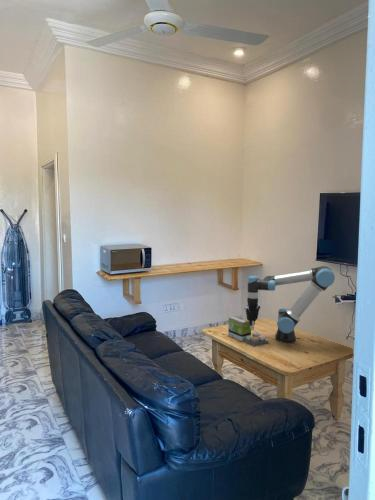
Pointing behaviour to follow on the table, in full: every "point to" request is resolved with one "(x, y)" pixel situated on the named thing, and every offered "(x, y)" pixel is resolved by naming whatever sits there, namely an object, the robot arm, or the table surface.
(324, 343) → the table surface
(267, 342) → the keypad board
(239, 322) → the tea box
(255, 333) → the slate key
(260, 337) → the ivory key
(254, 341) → the rust key
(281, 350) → the table surface
